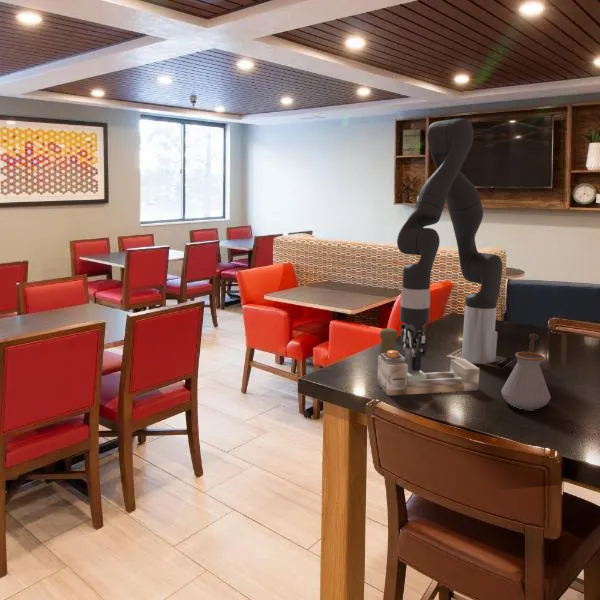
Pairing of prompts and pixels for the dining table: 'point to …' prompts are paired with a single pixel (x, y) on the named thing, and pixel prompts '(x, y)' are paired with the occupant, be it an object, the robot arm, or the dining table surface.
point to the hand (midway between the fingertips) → (412, 366)
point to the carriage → (410, 373)
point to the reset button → (392, 354)
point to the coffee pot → (527, 381)
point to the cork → (387, 340)
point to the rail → (396, 383)
